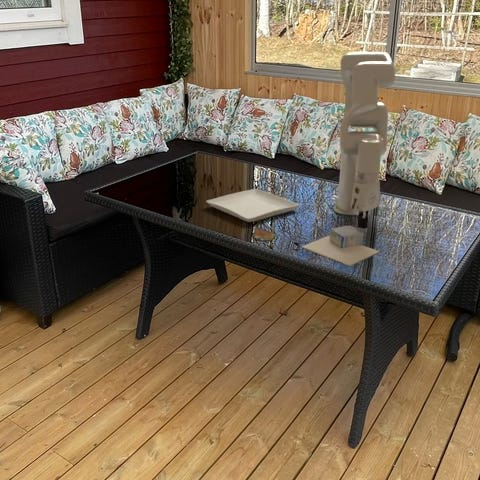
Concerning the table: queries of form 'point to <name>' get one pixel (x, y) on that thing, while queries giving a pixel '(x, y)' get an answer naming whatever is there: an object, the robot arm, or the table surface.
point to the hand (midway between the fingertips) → (362, 227)
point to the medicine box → (346, 236)
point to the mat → (340, 251)
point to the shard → (263, 234)
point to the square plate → (252, 204)
